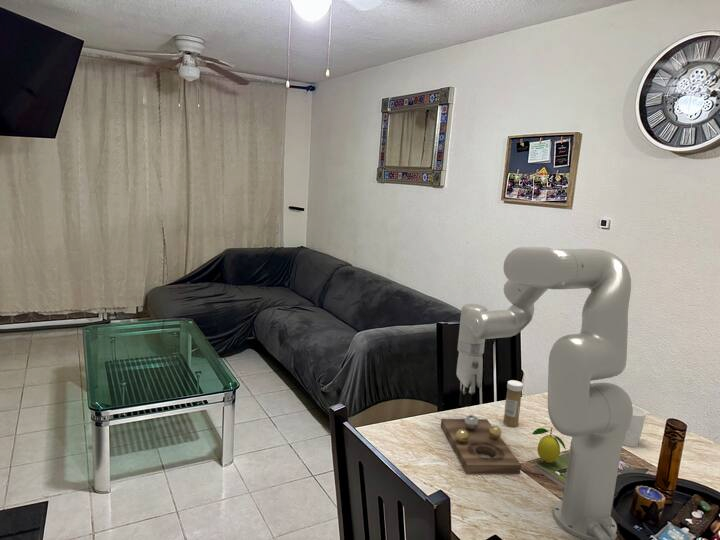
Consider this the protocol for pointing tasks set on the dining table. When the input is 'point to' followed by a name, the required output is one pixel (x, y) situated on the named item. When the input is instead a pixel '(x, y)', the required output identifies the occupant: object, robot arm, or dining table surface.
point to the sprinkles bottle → (512, 403)
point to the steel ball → (471, 422)
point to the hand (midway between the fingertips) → (464, 405)
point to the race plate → (480, 449)
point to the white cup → (635, 427)
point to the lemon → (548, 446)
